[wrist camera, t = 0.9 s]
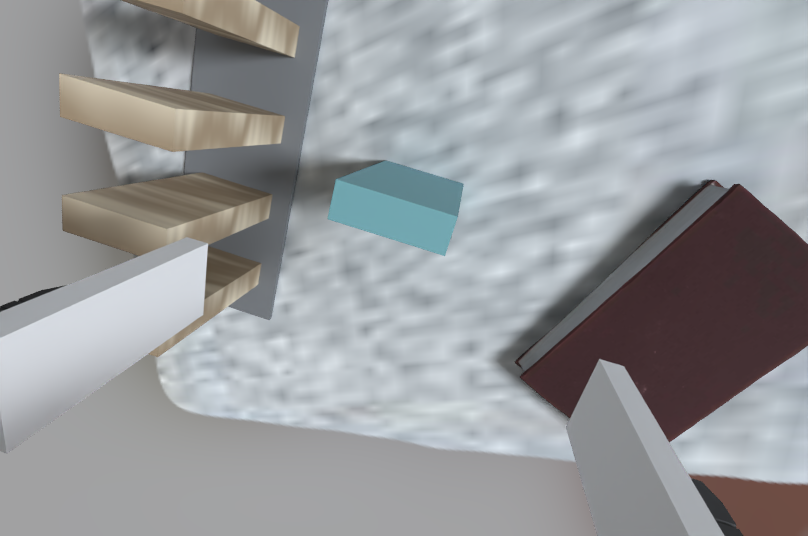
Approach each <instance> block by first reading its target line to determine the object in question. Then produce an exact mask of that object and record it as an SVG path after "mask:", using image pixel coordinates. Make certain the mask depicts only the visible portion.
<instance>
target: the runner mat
mask: <svg viewBox="0 0 808 536" xmlns="http://www.w3.org/2000/svg"><path fill="white" fill-rule="evenodd" d="M256 1H257V2H259V3H261V4H263V5H264V6H266V7H268V8H269V9H271V10H273V11H274V12H276V13H278V14H280V15H281V16H283V17H285V18H286V19H288V20H290V21H291V22H293V23H295V24H297V25H298V26H300V28H299V34H298V40H297V46H296V53H295V58H294V57H290V56H287V55H284V54H280V53H277V52H273V51H270V50H267V49H263V48H260V47H256V46H253V45H249V44H246V43H243V42H239V41H236V40H232V39H229V38H225V37H222V36H219V35H215V34H213V33H210V32H207V31H204V30H202V29H199V28H196V38H195V50H194V62H193V74H192V86H191V91H195V92H203V93H210V94H213V95H217V96H220V97H223V98H227V99H230V100H233V101H237V102H240V103H243V104H247V105H250V106H253V107H257V108H260V109H263V110H266V111H270V112H273V113H276V114H280V115H283V116H285V121H284V127H283V133H282V139H281V143H280V144H267V145H254V146H241V147H228V148H215V149H202V150H189V151H186V158H185V170H184V175H189V174H195V173H206V174H209V175H212V176H215V177H218V178H222V179H225V180H228V181H231V182H234V183H238V184H241V185H244V186H247V187H250V188H254V189H257V190H260V191H263V192H266V193H269V194H273V195H272V201H271V208H270V214H269V219H266V220H264V221H262V222H259V223H257V224H255V225H253V226H250V227H248V228H246V229H243V230H241V231H239V232H237V233H234V234H232V235H230V236H228V237H225V238H223V239H221V240H218V241H216V242H214V243H212V244H209V245H208V246H209V247H212V248H216V249H219V250H222V251H225V252H228V253H231V254H234V255H237V256H240V257H243V258H246V259H249V260H253V261H256V262H259V263H261V269H260V276H259V282H258V285H257V286H255V287H254V288H253V289H251V290H250V291H248V292H247V293H246V294H244V295H243V296H242V297H240V298H239V299H237V300H236V301H235V302H233V303H232V304H231V305H229V306H228V307H231V308H234V309H237V310H240V311H243V312H246V313H249V314H252V315H255V316H258V317H261V318H264V319H267V320H270V319H271V316H272V311H273V305H274V300H275V294H276V289H277V283H278V277H279V272H280V266H281V261H282V255H283V250H284V244H285V238H286V233H287V227H288V222H289V216H290V211H291V205H292V199H293V194H294V188H295V183H296V177H297V172H298V166H299V160H300V155H301V149H302V144H303V138H304V133H305V127H306V121H307V116H308V110H309V105H310V99H311V94H312V88H313V82H314V77H315V71H316V66H317V60H318V55H319V49H320V43H321V38H322V32H323V27H324V21H325V16H326V10H327V4H328V0H256Z"/></svg>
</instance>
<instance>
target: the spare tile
mask: <svg viewBox="0 0 808 536" xmlns="http://www.w3.org/2000/svg"><path fill="white" fill-rule="evenodd" d="M462 190H463V184H462V183H459V182H456V181H452V180H449V179H446V178H442V177H439V176H436V175H433V174H429V173H426V172H423V171H419V170H416V169H413V168H409V167H406V166H403V165H400V164H396V163H393V162H390V161H383V162H381V163H378V164H375V165H373V166H370V167H367V168H365V169H362V170H359V171H357V172H354V173H351V174H349V175H346V176H343V177H341V178H338V179H336V181H335V186H334V191H333V195H332V200H331V205H330V209H329V214H328V219H329V220H332V221H335V222H339V223H342V224H345V225H348V226H351V227H354V228H358V229H361V230H364V231H367V232H370V233H374V234H377V235H380V236H383V237H386V238H389V239H393V240H396V241H399V242H402V243H405V244H409V245H412V246H415V247H418V248H421V249H424V250H428V251H431V252H434V253H437V254H440V255H444V256H445V254H446V251H447V248H448V245H449V242H450V239H451V236H452V233H453V230H454V227H455V224H456V220H457V217H458V212H459V207H460V201H461V196H462Z"/></svg>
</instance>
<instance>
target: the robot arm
mask: <svg viewBox="0 0 808 536" xmlns="http://www.w3.org/2000/svg"><path fill="white" fill-rule="evenodd" d="M207 251H208V243H205V242H201V241H198V240H195V239H191V238H188V237H186V238H184V239H181V240H179V241H176V242H174V243H171V244H169V245H166V246H164V247H161V248H159V249H156V250H154V251H151V252H149V253H146V254H144V255H141V256H139V257H136V258H134V259H131V260H129V261H126V262H124V263H121V264H119V265H117V266H114V267H111V268H109V269H106V270H104V271H101V272H99V273H96V274H94V275H91V276H89V277H86V278H84V279H81V280H79V281H76V282H74V283H71V284H69V285H65V286H60V287H56V288H51V289H46V290H41V291H38V292H36V293H33V294H30V295H28V296H25V297H23V298H20V299H19V301H13V302H10V303H7V304H5V305H2V306H0V451H1V452H4V453H8V452H10V451H11V450H13V449H14V448H15V447H17V446H18V445H20V444H21V443H22V442H24V441H25V440H27V439H28V438H30V437H31V436H32V435H34V434H35V433H36V432H38V431H39V430H41V429H42V428H44V427H45V426H46V425H48V424H49V423H51V422H52V421H54V420H55V419H56V418H58V417H59V416H61V415H62V414H64V413H65V412H66V411H68V410H69V409H71V408H72V407H73V406H75V405H76V404H77V403H79V402H81V401H82V400H83V399H85V398H86V397H88V396H89V395H90V394H92V393H93V392H95V391H96V390H97V389H99V388H100V387H102V386H103V385H105V384H106V383H107V382H109V381H110V380H112V379H113V378H114V377H116V376H117V375H119V374H120V373H121V372H123V371H124V370H126V369H127V368H129V367H130V366H131V365H133V364H134V363H136V362H137V361H139V360H140V359H141V358H143V357H144V356H146V355H147V354H148V353H150V352H151V351H153V350H154V349H156V348H157V347H158V346H160V345H161V344H163V343H164V342H165V341H167V340H168V339H170V338H171V337H173V336H174V335H175V334H177V333H178V332H180V331H181V330H182V329H184V328H185V327H187V326H188V325H190V324H191V323H192V322H194V321H195V320H197V319H198V318H199V317H201V316H202V315H203V311H204V296H205V281H206V266H207ZM566 429H567V432H568V436H569V439H570V443H571V446H572V450H573V453H574V457H575V460H576V464H577V467H578V470H579V474H580V478H581V481H582V484H583V488H584V492H585V495H586V499H587V502H588V506H589V509H590V513H591V516H592V519H593V523H594V527H595V530H596V533H597V536H743V535H742V533H741V532H740V530H739V529H736V524H735V522H734V521H733V519H732V517H731V516H730V514H729V513H728V511H727V509H726V508H725V506H724V505H723V503H722V502H721V501H720V500H719V499H718V498H717V497H716V496H715V495H714V494H713V493H712V492H711V491H710V490H709V489H708V488H707V487H706V486H705V485H704V483H702V482H701V481H698V480H695V479H691V478H690V477H689V475H688V473H687V472H686V470H685V468H684V467H683V465H682V463H681V462H680V460H679V458H678V456H677V455H676V453H675V451H674V450H673V448H672V446H671V445H670V443H669V441H668V440H667V438H666V436H665V435H664V433H663V431H662V430H661V428H660V426H659V424H658V423H657V421H656V419H655V418H654V416H653V414H652V413H651V411H650V409H649V408H648V406H647V404H646V403H645V401H644V399H643V397H642V396H641V394H640V392H639V391H638V389H637V387H636V386H635V384H634V382H633V381H632V379H631V377H630V376H629V374H628V372H627V371H626V369H625V367H624V366H621V365H618V364H615V363H611V362H608V361H604V360H601V359H599V361H598V363H597V365H596V367H595V369H594V371H593V373H592V375H591V377H590V379H589V381H588V383H587V385H586V387H585V389H584V391H583V393H582V395H581V397H580V399H579V401H578V403H577V405H576V408H575V410H574V412H573V414H572V416H571V418H570V420H569V422H568V424H567V426H566Z"/></svg>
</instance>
